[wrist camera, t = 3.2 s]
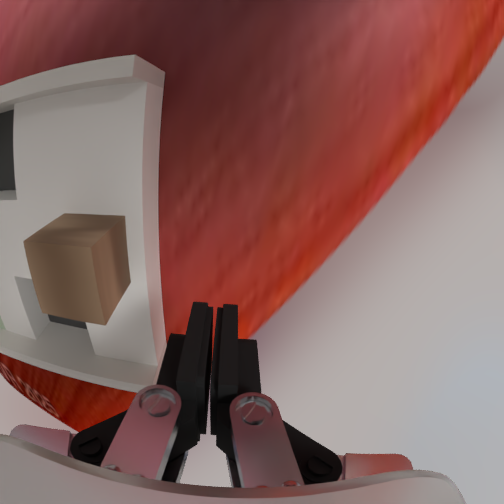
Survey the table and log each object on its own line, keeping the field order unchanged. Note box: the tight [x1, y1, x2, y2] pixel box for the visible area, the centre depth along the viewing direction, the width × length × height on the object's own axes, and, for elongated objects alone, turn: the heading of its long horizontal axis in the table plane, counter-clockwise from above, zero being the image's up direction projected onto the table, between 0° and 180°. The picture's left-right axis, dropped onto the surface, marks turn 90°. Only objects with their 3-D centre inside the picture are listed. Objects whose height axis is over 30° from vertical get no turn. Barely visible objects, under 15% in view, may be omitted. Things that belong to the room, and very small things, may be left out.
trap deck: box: [0, 55, 167, 393], centre depth 15 cm, size 20×20×5 cm
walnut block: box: [23, 213, 131, 326], centre depth 13 cm, size 4×4×4 cm
